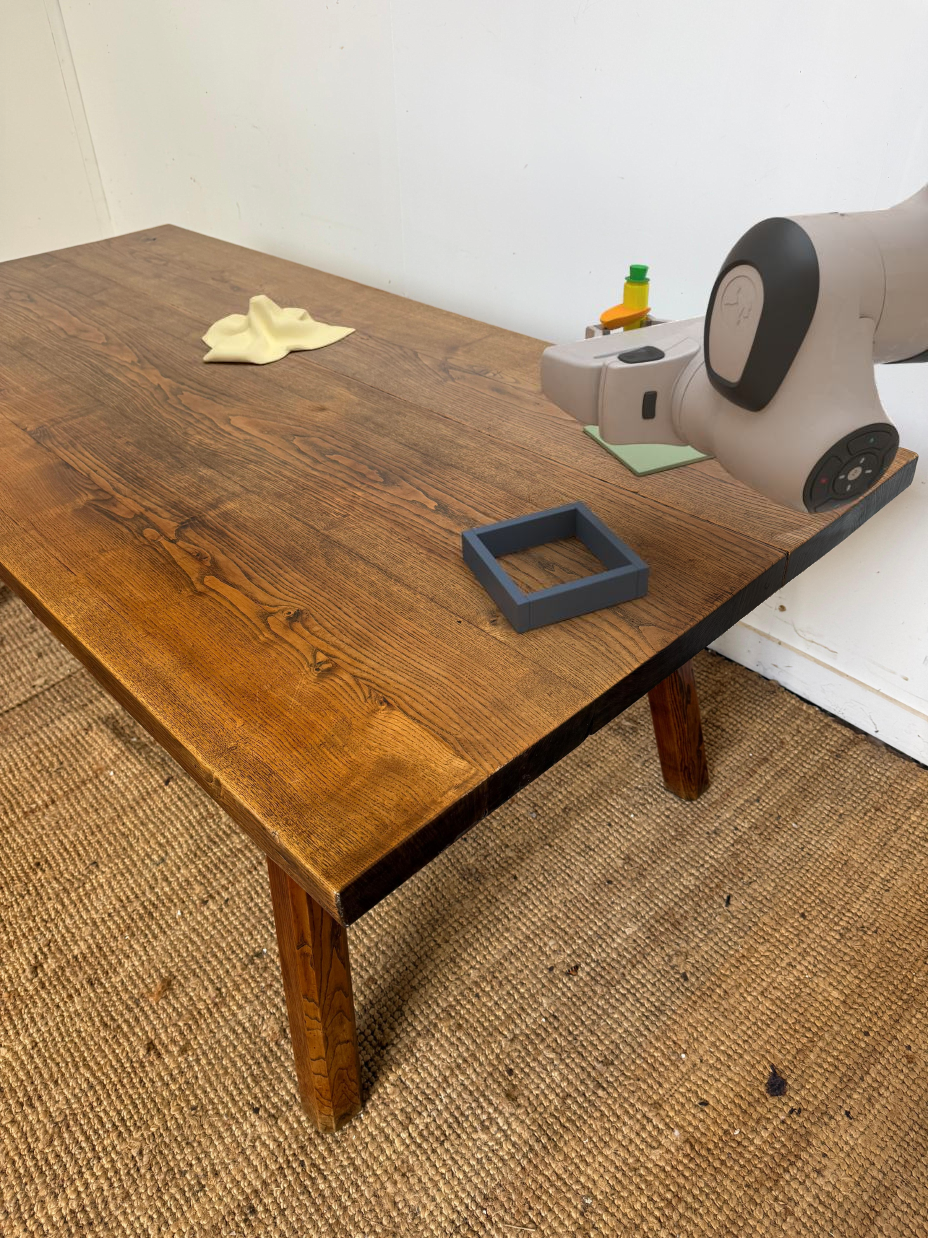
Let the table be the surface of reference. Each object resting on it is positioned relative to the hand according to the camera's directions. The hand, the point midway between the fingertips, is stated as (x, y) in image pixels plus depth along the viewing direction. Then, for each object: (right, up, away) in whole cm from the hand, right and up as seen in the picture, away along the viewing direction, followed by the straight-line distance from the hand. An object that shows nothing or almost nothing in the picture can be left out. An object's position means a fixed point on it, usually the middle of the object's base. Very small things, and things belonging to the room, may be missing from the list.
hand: (615, 328), depth 77 cm
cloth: (-41, +15, +50) cm, 66 cm away
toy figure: (+1, -6, +4) cm, 7 cm away
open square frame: (-6, -22, 0) cm, 23 cm away
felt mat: (+8, -6, +19) cm, 22 cm away
